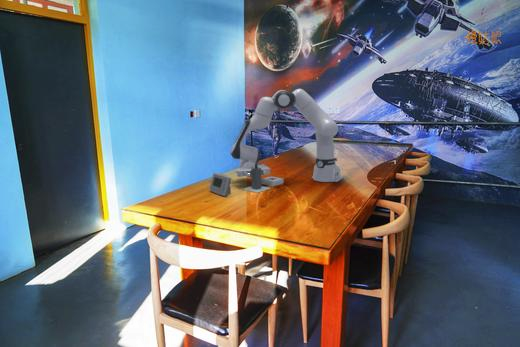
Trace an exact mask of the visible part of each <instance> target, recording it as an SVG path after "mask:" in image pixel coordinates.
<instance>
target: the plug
mask: <svg viewBox="0 0 520 347" xmlns="http://www.w3.org/2000/svg"><path fill="white" fill-rule="evenodd" d="M258 164H259V162H258V163H255V168H251V173H252V177H251V186H252V189H256V190H257V189H260V188H261V186H262V184H261V179H262V175H261V168H258Z"/></svg>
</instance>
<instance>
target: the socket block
mask: <svg viewBox="0 0 520 347" xmlns="http://www.w3.org/2000/svg"><path fill="white" fill-rule="evenodd" d="M284 181H285V180H284V178H283V177H278V176H277V177H276V176H271V175H270V176H267V177H264V178H261V185H265V186H268V187H276V186H279V185H283V184H284Z"/></svg>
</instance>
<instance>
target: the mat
mask: <svg viewBox="0 0 520 347" xmlns="http://www.w3.org/2000/svg"><path fill="white" fill-rule="evenodd" d="M241 189H242V190H244V191H247V192H252V193H256V194H257V193H258V194H259V193H261V192H264V191H265V192H266V191H267V190H270V189H271V187H270V186H262V185H261V188H260V189H257V190H256V189H252V185H251V186H247V187H243V188H241Z"/></svg>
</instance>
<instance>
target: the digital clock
mask: <svg viewBox="0 0 520 347" xmlns="http://www.w3.org/2000/svg"><path fill="white" fill-rule="evenodd" d="M231 181H232V177H230V176H227V175H225V174H222V173H218V172H213V174H212V178H211V182H210V185H209V191H210V192H212V193H213V194H215V195H219V196H223V197H226V196H228V195H230V194H231V193H232V192H231Z"/></svg>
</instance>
